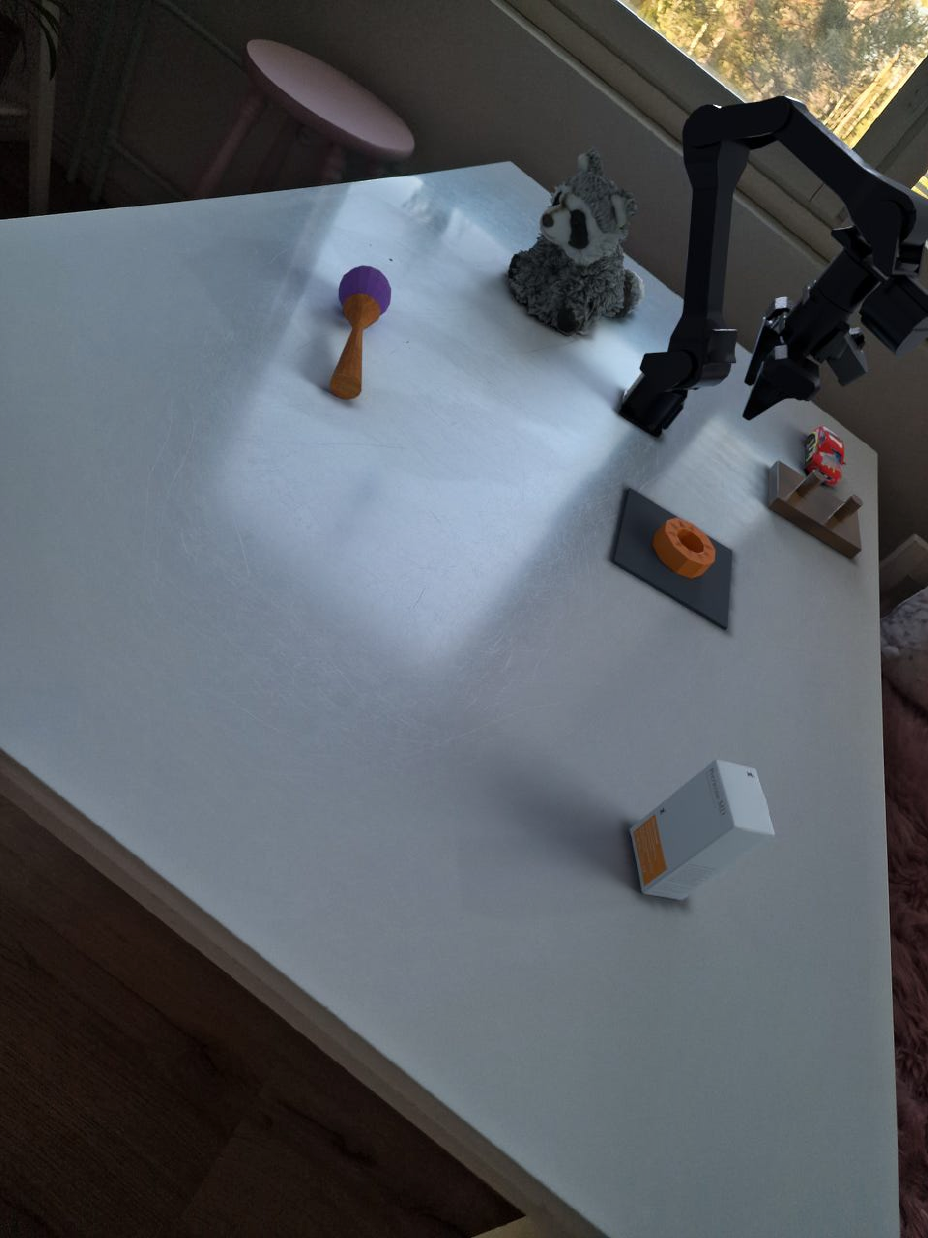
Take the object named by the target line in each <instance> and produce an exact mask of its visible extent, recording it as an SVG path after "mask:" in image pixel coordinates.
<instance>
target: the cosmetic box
mask: <svg viewBox="0 0 928 1238" xmlns="http://www.w3.org/2000/svg"><path fill="white" fill-rule="evenodd" d="M771 819H772V818H771V817H770V812H769V806H768V802H767V799H766V795H765V794H764V792H763V789H762V786H761V783H760V779H759V776H758V773H757V769H756V768H754V767H751V766H746V765H742V764H738V763H735V762H730V761H726V760H721V759H714V760H713V761H712V762H710V763H709V764H707V765H706V766H705V767H704V768H703V769H701V771H699V772H698V773H697V774H696V775H694V776H693V777H691V778H690V779H689V780H688V781H687V782H686V783H684V784H683V785H682V786H681V787H679V788H678V789H677V790H676V791H675V792H673V793H672V794H671V795H670V796H668V797H667V798H666V799H664V800H663V801H662V802H661V803H660V804H659V805H658V806H656V807H654V809H652V810H651V811H649V812H648V813H647V814H645V815H644V817H642V818H641V819H640V820H639V821H638V822H636V823H635V824H634V825H632V826H631V827H630V829H629V833H630V837H631V841H632V847H633V851H634V856H635V862H636V866H637V874H638V878H639V884H640V890H641V893H642V894H643V895H648V896H655V897H661V898H666V899H672V900H678V901H683V900H685V899H686V898H688V897H689V896H690V895H692V894H693V893H695V892H696V891H697V890H699V889H700V888H702V887H703V886H705V885H706V884H707V883H709V882H710V881H712V880H713V879H715V878H716V877H718V876H719V875H720V874H721V873H723V872H725V871H726V870H728V869H729V868H731V867H732V866H733V865H735V864H736V863H738V862H739V861H741V860H742V859H743V858H744V857H746V856H747V855H750V854H751V853H752V852H754V851H756V849H758V848H759V847H761V846H762V845H764V844H765V843H767V842H768V841H770V840H771V839H773V838H775V836H776V833H775V830H774V826H773V823H772V820H771Z"/></svg>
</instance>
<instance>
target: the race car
mask: <svg viewBox="0 0 928 1238" xmlns="http://www.w3.org/2000/svg"><path fill="white" fill-rule="evenodd" d="M844 443H845V442H844V441H843V440H842V439H841V437H839V436H838V435H837V434H836V433H835V432H833V431H832V430H831V429H829V428H827V427H825V426H821V425H820V426H818V427H816V428H814V429H813V431H811V432H810V434H809V435H808V436H807V438H806V440H805V443H804V444H805V446H806V451H805V452H806V453H805V464H804V467H803V468H804V470H806V471H807V472H809V474H810V473H811V472H812V471H813V470H817V471H819V472H820V473H821V474H822V475H823V476H824V478H825V480H824V481H823V482H822V483H821V484H823V485H826V486H828V487H834V486H836V485H837V484H838V483H839V482H840V480H841V478H842V469H843V465H844V466H846V465H847V463H846V462H845V461H844V459H845V444H844Z"/></svg>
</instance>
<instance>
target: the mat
mask: <svg viewBox="0 0 928 1238" xmlns="http://www.w3.org/2000/svg"><path fill="white" fill-rule="evenodd" d="M674 518H679V519H681V518H680V517H678V516H677V515H675V514H673V513H672V512H670V511H669V510H667V509H665V508H664V507H662V506H660V505H659V504H657V503H656V502H654V501H652V500H651V499H649V498H648V497H646V496H645V495H643V494H641V493H639V492H638V491H636V490H635V489H633V488H631V487H629V488H628V490H627V494H626V497H625V502H624V508H623V512H622V516H621V521H620V524H619V525H620V526H619V531H618V535H617V540H616V545H615V547H614V548H615V549H614V554H613V558H612V563H614V564H615V565H616V566H618V567H620V568H621V569H623V570H625V571H626V572H628V573H630V574H632V575H633V576H635V577H636V578H638V579H640V580H642V582H645V583H646V584H648V585H650V586H651V587H653V588H655V589H657V591H660V592H661V593H663V594H665V595H667V597H670V598H672V599H673V600H674V601H677V603H679V604H682V605H683V606H685V607H686V608H688V609H690V610H691V611H693V612H695V613H697V614H698V615H700V616H701V617H703V618H705V619H706V620H708V621H709V622H711V623H713V624H715V625H716V626H718V627H720V628H722V629H723V630H727V629H728V627H729V626H728V625H729V611H730V593H731V578H732V575H731V574H732V563H733V550H732V549H730V548H729V547H727V546H726V545H724V544H722V543H721V542H719V541H717V540H716V539H714V538H712V537H711V536H709V535H708V534H706V533H704V534H705V535H707V537H708V538H709V540H710V542H711V543H712V545H713V547H714V549H715V561H714V562H713V564H712V565H711V566H710V567H709V568H708V569H707V570H706V571H705V572H704V573H703V574H702V575H700V576H697V577H694V578H691V579H690V578H688V577H685V576H682V575H680V574H677V573H675V572H674V571H672V570H671V569H670V568H669V567H668V566H667V565H666V564H664V563H663V562H662V561H661V560H660V558H659V556H658V555H657V553H656V551H655V549H654V547H653V539H654V534H655V533H656V532H657V531H658V530H659V529H660V528H661V526H662V525H663V524H664V523H665V522H666V521H667V520H670V519H674Z"/></svg>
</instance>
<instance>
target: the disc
mask: <svg viewBox="0 0 928 1238" xmlns="http://www.w3.org/2000/svg"><path fill="white" fill-rule="evenodd" d="M679 518H680V517H678V518H674V519H670V520H667V521H666V522H665V523H664V524H663V525H662V526H661V528H660V529H659V530H658V531H657V532H656V533H655V534H654V539H653V547H654V549H655V551H656V553H657V555H658V556H659V558H660V560H661V561H662V562H663V563H664V564H666V565H667V566H668V567H669V568H670V569H671V570H672V571H674V572H675V573H677V574H680V575H682V576H685V577H688V578H690V579H691V578H694V577H697V576H700V575H702V574H703V573H704V572H705V571H706V570H707V569H708V568H709V567H710V566H711V565H712V564H713V562H714V561H715V549H714V547H713V545H712V543H711V542H710V540H709V538H708V537H707V535H708V534H706V533H705V532H703V530H701V529H700V528H699V527H697V525H695V524H694V523H692V522H689V521H687V520H684V519H682V518H680V519H679ZM705 534H706V535H705Z"/></svg>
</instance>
